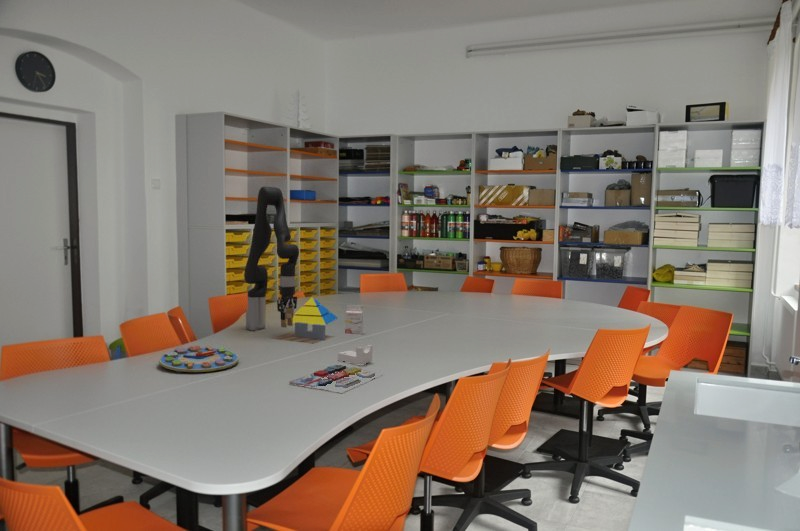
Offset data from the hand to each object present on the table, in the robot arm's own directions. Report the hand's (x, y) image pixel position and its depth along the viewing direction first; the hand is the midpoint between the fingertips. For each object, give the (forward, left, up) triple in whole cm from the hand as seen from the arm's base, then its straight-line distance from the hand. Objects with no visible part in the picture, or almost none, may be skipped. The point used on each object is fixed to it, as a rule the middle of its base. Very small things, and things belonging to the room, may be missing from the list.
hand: (287, 318), depth 316 cm
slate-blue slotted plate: (+13, 0, -8) cm, 16 cm away
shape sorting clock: (+1, -63, -10) cm, 64 cm away
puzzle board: (+61, -56, -10) cm, 84 cm away
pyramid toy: (-16, +48, -10) cm, 52 cm away
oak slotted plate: (0, 0, -4) cm, 4 cm away
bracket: (+53, -28, -10) cm, 61 cm away
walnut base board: (+9, 0, -9) cm, 13 cm away
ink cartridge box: (+24, +24, -10) cm, 35 cm away
